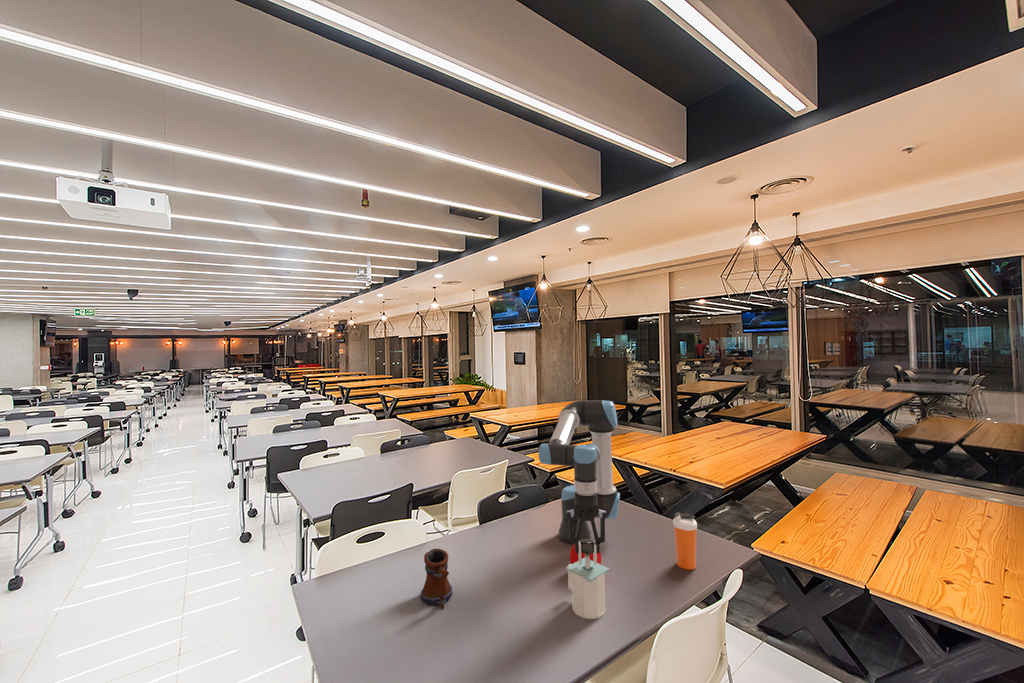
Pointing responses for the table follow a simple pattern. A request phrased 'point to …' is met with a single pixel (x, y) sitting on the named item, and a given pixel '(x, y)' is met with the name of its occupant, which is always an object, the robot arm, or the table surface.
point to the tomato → (582, 556)
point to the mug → (436, 578)
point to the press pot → (587, 589)
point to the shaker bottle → (685, 540)
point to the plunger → (587, 551)
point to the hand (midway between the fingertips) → (587, 562)
